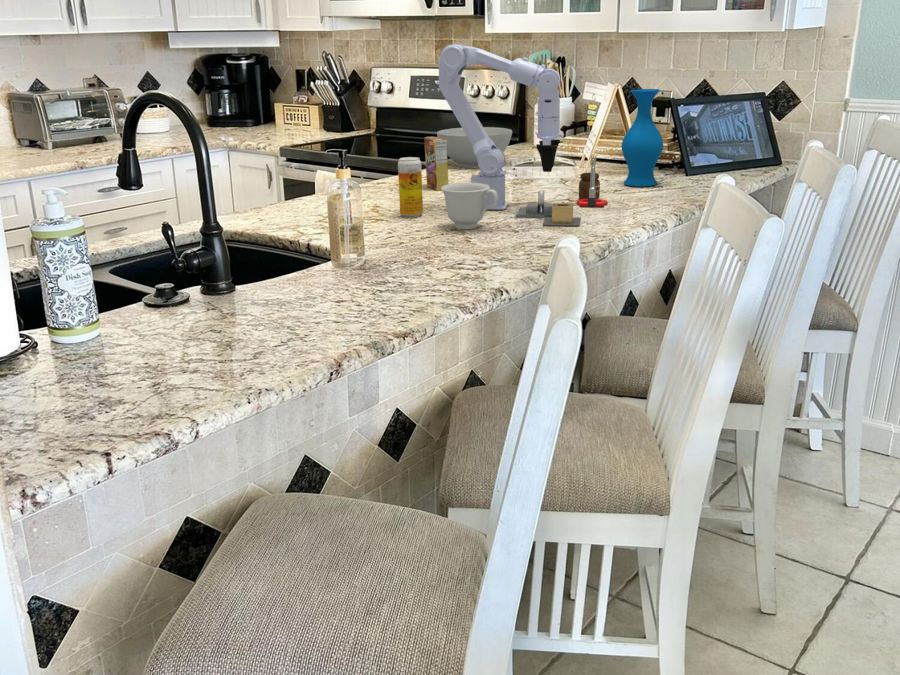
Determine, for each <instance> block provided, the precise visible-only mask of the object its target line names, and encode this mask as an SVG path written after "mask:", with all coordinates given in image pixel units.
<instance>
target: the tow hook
mask: <svg viewBox="0 0 900 675" xmlns="http://www.w3.org/2000/svg"><path fill="white" fill-rule="evenodd" d="M590 173H591V181H590V188H589V197H588V199H577V200H576V205H579V207H580V208H582V207H583V208H605V206H607V205H608V200H606V199H603V198H599V199H596V197H595V190H596V189H595V173H596V165H595V158H594V159H593V158H592V166H590Z"/></svg>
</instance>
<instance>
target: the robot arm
mask: <svg viewBox="0 0 900 675" xmlns="http://www.w3.org/2000/svg"><path fill="white" fill-rule="evenodd" d="M437 63H438V87H439V88H438V89H439V90H440V92H441V94H442V96H443V97H444V99H445V101H446V103H447V105H449V108H450V109H451V111H452V112H453V114H454V116H455V118H456V119H457V121H458V123H459V124H460V126H461V127H460V128H463V130H464V132H465V134H466V135H467V137H468V139H469V141H470V142H471V144H472V146H473V149H474V153H475V155H476V157H477V159H478V167H479V168H478V170H479V172H478V174H472V175H470V176H471V177H470V183H482V184H486V185H489V186H490V188H489V189H488V190H490V189H492V190H495V191H496V192H497V195H498V202H497V204H496V205H495V206H494V207H493V208H490V209H487V210H490V211H491V210H496V211H497V210H498V211H499V210H500V211H501V210H502V211H504V210H506V208H507V207H508V205H509V202H506V172H505V171H504V170H503V167H504V166H505V164H506V155H505V153H504V152H502V151H501V150H500V149H499V148H497V147H496V146H495V144H494V142H493V141H492V140H491V139H490V138H489V137H488V135H487V133H486V132H485V130H484V128H483V127H484V126H483V124H482V123H481V121H480V120H479V118H478V116H477V114H476V112H475V110H474V109H473V107H472V105H471V104H470V102H469V100H468V98H467V97H466V96H467V95H465V93H464V91H463V90H462V88H461V85H460V81H461V78H462V74H463V72H464V70H465V69H466V67H467V66H473V65H482V66H485V67H488V68H490V69H495V70H498V71H501V72H503V73H507V74H508V76H509V79H510V80H512V81H513V82H516V83H519V84H522V85H525V86H528V87H530V88H533V89H534V88H536V87H537V89H538V99H537V135H536V138H537V139H539V141H538V144H536V145H535V148H536V149H537V152H538V154H539V157H540V162H541V168H542V172H544V173H551V172H552V171H553V168H554V166H555V165H554V164H555V160H556V155H557V150H558V147H559V144H560V143H561V139H558V138H564V136H565V134H564V133H560V115H561V113H560V108H561V106H560V105H561V101H560V100H561V99H560V88H559V87H560V85H561V76H560V74H559V72H558V71H557V70H555V69H553V68H552V67H548V68H547V67H546V64H541V65H540V64H537V63H534V62H531V61H529V58H528V57H525V56H524V57H522V58H521V57H517V58H515V59H514V60H510V59H507V58H505V57H502V56H500V55H498V54H496V53H495V54H494V53H492V52H490V51H487V50H485V49H482V48H478V47H474V46H471V45H470V46H469V45H464V44H461V43H456V44H449V45H447V46H445V47H444V48H443V49H442V51H441V52H440V56H439V59H438V62H437ZM493 200H494V197H493V195H492V194H489V197H488V198H487V199H486V205H485V207H486V206H488V205H490V204H492V203H493ZM487 210H486V211H487Z"/></svg>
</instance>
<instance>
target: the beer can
mask: <svg viewBox="0 0 900 675" xmlns="http://www.w3.org/2000/svg"><path fill="white" fill-rule="evenodd" d="M397 171H398V172H397V176H398V178H397V179H398V200H399V214H400V215H401V216H402V217H403V218H410V219H411V218H419V217H421V216H422V214H423V213H424V208H423V207H424V205H423V204H424V202H423V175H422V173H423V172H422V161H421V160H420V157H416V156H415V157H414V156H413V157H412V156H407V157H400V158H399V159H398V162H397Z"/></svg>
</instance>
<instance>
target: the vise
mask: <svg viewBox="0 0 900 675" xmlns="http://www.w3.org/2000/svg"><path fill="white" fill-rule="evenodd" d="M537 194H538V195H537V203H535V202H532V203H527V204H526V206H520V207H519V209H518V210H517V213H516V215H515V216H516V219H545V217H552V206H553V203H545V191H544V190H538V191H537Z"/></svg>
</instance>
